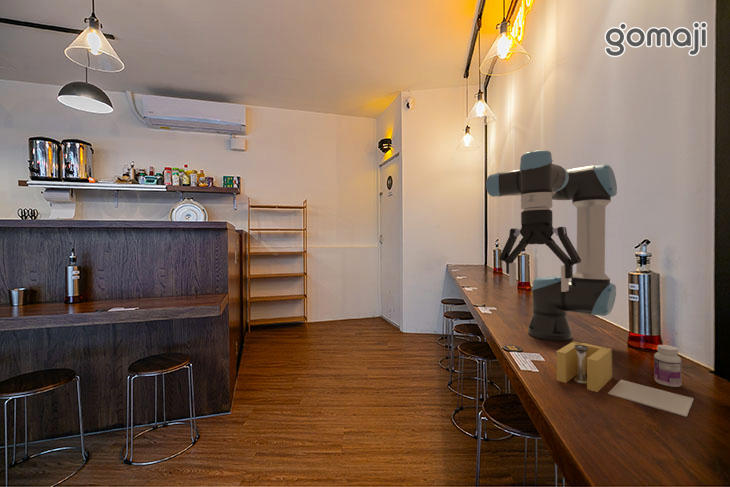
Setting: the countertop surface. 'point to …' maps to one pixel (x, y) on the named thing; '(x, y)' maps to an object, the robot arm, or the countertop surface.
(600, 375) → the c link
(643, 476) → the countertop surface
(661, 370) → the pill bottle
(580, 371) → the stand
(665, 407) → the felt mat
